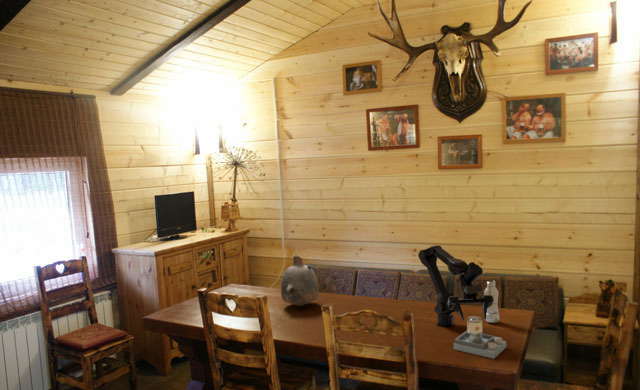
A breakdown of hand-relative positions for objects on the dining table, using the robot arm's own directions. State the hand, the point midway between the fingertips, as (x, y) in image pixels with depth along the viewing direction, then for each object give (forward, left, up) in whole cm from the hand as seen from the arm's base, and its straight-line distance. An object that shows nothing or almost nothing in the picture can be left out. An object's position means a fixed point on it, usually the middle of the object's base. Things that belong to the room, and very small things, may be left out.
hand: (474, 319), depth 201 cm
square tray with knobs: (+2, 0, -12) cm, 12 cm away
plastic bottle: (-5, +33, -12) cm, 35 cm away
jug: (-103, +2, -12) cm, 104 cm away
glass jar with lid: (+1, -1, -9) cm, 9 cm away
